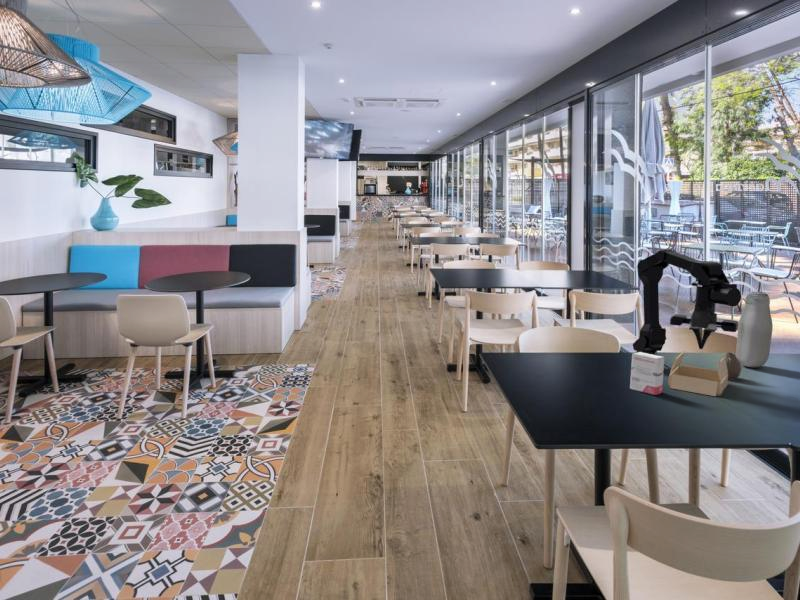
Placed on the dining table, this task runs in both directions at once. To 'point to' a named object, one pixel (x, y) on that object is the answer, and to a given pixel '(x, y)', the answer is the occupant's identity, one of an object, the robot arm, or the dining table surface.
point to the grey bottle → (754, 331)
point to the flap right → (722, 368)
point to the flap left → (677, 361)
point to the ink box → (647, 373)
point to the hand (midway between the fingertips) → (701, 348)
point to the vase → (732, 366)
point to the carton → (697, 380)
